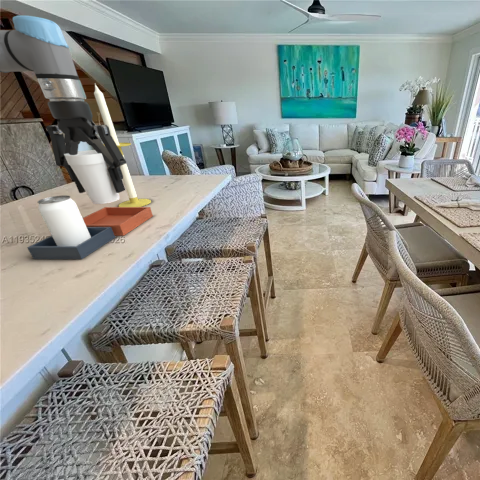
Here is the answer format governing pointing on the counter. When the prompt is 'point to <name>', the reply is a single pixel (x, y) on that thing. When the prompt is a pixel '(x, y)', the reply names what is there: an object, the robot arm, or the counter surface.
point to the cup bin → (118, 218)
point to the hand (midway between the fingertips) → (102, 191)
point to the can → (63, 220)
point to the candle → (127, 179)
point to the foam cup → (93, 176)
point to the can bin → (52, 251)
